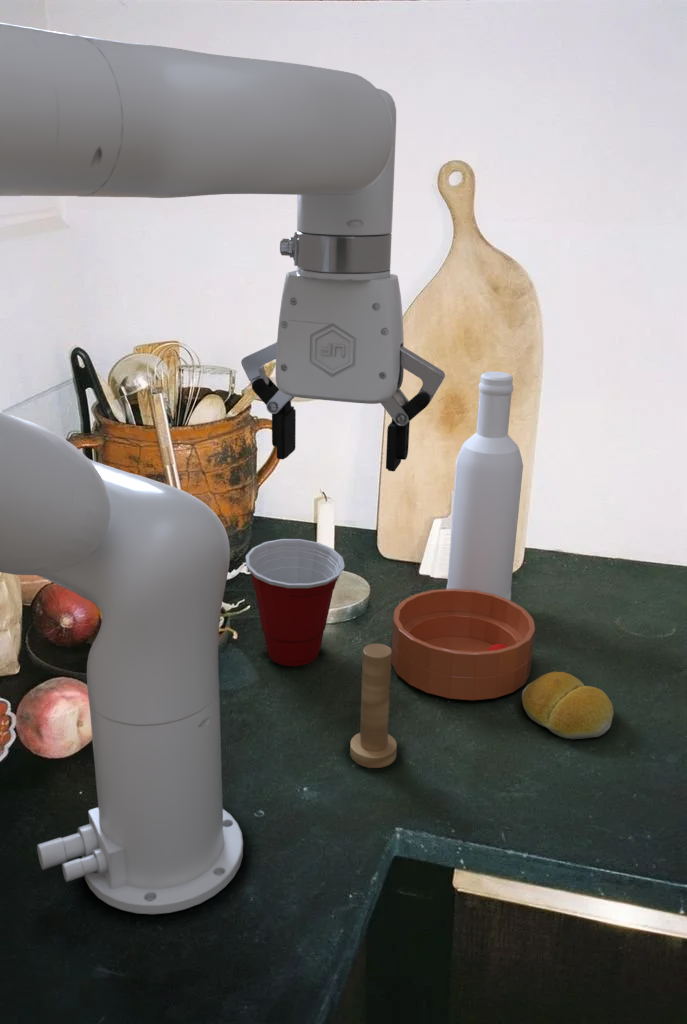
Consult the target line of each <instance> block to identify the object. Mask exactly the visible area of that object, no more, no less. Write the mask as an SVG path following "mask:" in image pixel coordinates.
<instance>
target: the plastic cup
mask: <svg viewBox="0 0 687 1024" xmlns="http://www.w3.org/2000/svg"><path fill="white" fill-rule="evenodd" d="M245 566H246V569H247V570H248V571H249V573H250V576H251V581H252V583H253V590H254V591H255V596H256V602H257V607H258V613H259V619H260V624H261V631H262V633H263V636H264V641H265V647H266V652H267V654H268V658H269V659H270V660H271V661H272V662H274V663H276V664H279V665H281V666H287V667H299V666H300V667H302V666H304V665H308V664H310V663H312V662H313V661H315V660H316V659H317V658H318V656H319V653H320V650H321V647H322V642H323V636H324V631H325V630H326V628H327V627H326V626H327V622H328V617H329V612H330V607H331V602H332V599H333V593H334V590H335V588H336V584H337V582H338V579H339V578H340V576H341V574H342V573H343V571H344V569H345V567H346V565H345V561H344V558H343V556H342V555H341V554H340V553H338V551H336V550H335V549H334V548H332V547H331V546H328V545H325V544H322V543H321V542H317V541H314V540H313V541H312V540H308V539H307V540H306V539H302V538H280V539H274V540H269V541H268V540H267V541H264V542H262V543H260V544H258V545H256V546H254V547H252V548H251V549H250V550H249V551H248V552H247V554H246V555H245Z"/></svg>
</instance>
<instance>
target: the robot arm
mask: <svg viewBox="0 0 687 1024" xmlns="http://www.w3.org/2000/svg"><path fill="white" fill-rule="evenodd" d="M396 136H397V107H396V102H395V100H394V98H393V96H392V95H391V94H390V93H389V92H388V91H385V90H383V89H381V88H377V87H376V86H375V85H374V84H373V83H372V82H371V81H369V80H367V79H366V78H364V77H363V76H361V75H359V74H356V73H352V72H349V71H343V70H338V69H331V68H326V67H320V66H315V65H314V66H312V65H308V64H301V63H293V62H286V61H285V62H284V61H278V60H267V59H258V58H249V57H238V56H230V55H222V54H212V53H206V52H200V51H195V50H188V49H182V48H176V47H168V46H163V45H162V46H161V45H155V44H153V45H152V44H143V43H133V42H126V41H119V40H113V39H105V38H97V37H91V36H86V35H85V36H84V35H78V34H70V33H64V32H58V31H53V30H46V29H39V28H34V27H27V26H22V25H16V24H10V23H5V22H0V197H78V198H79V197H80V198H81V197H85V198H86V197H89V198H90V197H91V198H92V197H94V198H150V199H153V198H154V199H173V198H174V199H175V198H188V197H189V198H191V197H201V196H216V195H218V196H219V195H288V196H289V195H290V196H291V195H296V197H297V198H296V231H294V233H293V234H294V235H293V236H291V237H289V238H281V240H280V242H279V254H280V255H281V256H286V257H289V258H290V259H291V258H292V259H293V264H294V266H295V267H296V270H293V271H289V272H286V274H285V278H284V283H283V288H282V293H281V301H280V309H279V316H278V326H277V327H278V328H277V339H276V342H273V343H271V344H269V345H267V346H265V347H263V348H261V349H259V350H257V351H254V352H251V353H250V354H248V355H246V356H245V357H243V358H242V359H241V362H240V364H241V366H242V369H243V370H244V372H245V375H246V377H247V379H248V381H249V382H250V384H251V389H252V391H253V392H254V393H255V394H256V396H257V397H258V398H259V399H260V400H261V401H262V402H263V403H264V405H265V406H266V411H268V413H270V414H271V445H272V446H273V447H276V459H277V460H285V459H287V458H289V456H290V455H291V454H293V452H294V451H295V450H296V440H297V439H296V434H297V433H296V429H297V428H296V426H297V425H296V421H297V420H296V418H297V417H296V416H297V415H296V414H297V413H296V412H297V411H296V409H295V406H294V405H292V401H293V400H294V399H295V398H300V399H310V400H319V401H320V400H321V401H329V402H331V401H333V402H343V403H354V404H365V405H376V404H380V405H382V407H383V408H384V410H385V411H386V412H387V414H388V415H389V416H390V418H391V422H390V423H389V424H388V426H387V431H386V453H385V455H386V456H385V457H386V458H385V470H387V471H388V472H396V470H397V469H398V467H399V466H400V464H401V462H402V460H403V461H406V460H407V458H408V454H409V444H410V443H409V441H410V424H411V423H410V422H411V421H412V420H413V419H414V418H415V417H416V416H417V415H419V414H420V413H421V412H422V411H424V410H425V409H426V408H427V407H428V406H429V404H430V403H431V402H432V400H433V398H434V397H435V395H436V394H437V392H438V390H440V389H439V388H440V387H441V385H442V384H443V382H444V381H445V379H446V373H445V371H443V369H441V368H439V367H437V366H436V365H435V364H432V363H431V362H430V361H428V360H426V359H425V358H423V357H421V356H420V355H419V354H416V353H415V352H413V351H411V350H410V349H408V348H407V347H405V335H404V334H405V333H404V317H403V304H402V295H401V294H402V293H401V288H400V281H399V277H398V275H397V274H394V273H391V263H392V239H393V237H392V236H393V215H394V189H395V164H396V163H395V161H396V141H397V139H396V138H397V137H396ZM272 361H275V383H274V382H273V380H271V377H269V376H268V375H267V372H266V370H265V369H266V368H265V365H266V364H268V363H271V362H272ZM405 371H408V372H409V373H410V374H412V375H413V376H416V377H417V378H419V379H420V380H421V382H422V385H421V387H420V389H419V391H418V392H417V394H415V395H414V396H413V397H412V398H410V400H409V399H408V398H407V396H406V395H405V394H404V392H403V391H402V390H401V387H402V385H403V381H404V375H405V374H404V373H405ZM227 533H228V532H227V530H226V527H225V525H224V524H223V522H222V520H221V519H220V518H219V516H218V515H217V514H216V513H215V511H214V510H213V509H212V508H211V507H210V506H209V505H207V504H206V503H205V502H204V501H202V499H199V498H197V497H196V496H194V495H193V494H190V493H189V492H187V491H185V490H183V489H180V488H178V487H175V486H173V485H170V484H167V483H164V482H161V481H157V480H155V479H152V478H148V477H145V476H143V475H140V474H135V473H132V472H128V471H126V470H122V469H119V468H117V467H113V466H110V465H107V464H104V463H101V462H98V461H95V460H92V459H90V458H89V457H87V456H86V455H85V454H84V453H83V452H82V451H81V450H80V449H79V448H77V446H76V445H74V444H73V443H71V442H69V440H67V439H66V438H64V437H63V436H61V435H60V434H58V433H57V432H54V431H52V430H50V429H48V428H46V427H44V426H42V425H40V424H38V423H35V422H32V421H31V420H27V419H24V418H22V417H18V416H15V415H12V414H10V413H6V412H4V411H1V410H0V573H3V574H9V575H14V576H37V577H39V578H41V579H44V580H47V581H49V582H50V583H51V582H52V583H53V584H55V585H58V586H60V587H62V588H64V589H67V590H68V591H70V592H72V593H75V594H77V595H78V596H80V597H81V598H83V599H85V600H87V601H89V602H91V603H93V604H95V606H97V608H98V610H99V612H100V615H101V624H100V628H99V630H98V633H97V635H96V636H95V638H94V640H93V643H92V645H91V647H90V649H89V652H88V656H87V661H86V686H87V688H86V689H87V698H88V706H89V715H90V718H89V719H90V726H91V738H92V739H91V740H92V741H91V742H92V751H93V762H94V763H93V764H94V774H95V785H96V797H97V807H94V808H90V809H89V810H88V811H87V812H88V813H87V814H88V821H89V823H87V824H85V825H82V826H79V827H77V832H76V833H72V834H69V835H67V836H64V837H62V836H61V837H57V838H54V839H49V840H47V841H45V842H44V841H43V842H41V843H38V844H36V850H37V851H36V852H37V856H38V861H39V864H40V867H41V870H42V871H45V870H48V869H51V868H54V867H56V866H60V865H61V868H62V869H61V870H62V874H63V878H64V881H65V883H68V882H71V881H74V880H78V879H81V878H84V880H85V882H86V884H87V886H88V888H89V890H90V891H91V892H92V893H93V895H95V896H96V897H97V899H99V900H101V901H103V902H104V903H105V904H107V905H108V906H111V907H113V908H116V909H118V910H121V911H124V912H128V913H133V914H140V915H141V914H142V915H160V914H161V915H162V914H170V913H176V912H179V911H183V910H186V909H189V908H192V907H195V906H197V905H200V904H202V903H204V902H205V901H207V900H209V899H211V898H213V897H214V896H216V895H217V894H219V893H220V892H221V891H222V890H224V889H225V888H226V887H227V885H229V883H230V882H231V881H232V880H233V879H234V878H235V876H236V874H237V873H238V871H239V869H240V867H241V864H242V862H243V861H242V860H243V857H244V839H243V832H242V830H241V828H240V826H239V823H238V822H237V820H236V819H235V818H234V817H233V815H231V813H230V812H228V811H227V810H225V808H224V805H223V804H224V803H223V775H222V774H223V773H222V769H223V768H222V739H221V738H222V735H221V706H220V704H221V703H220V701H221V700H220V680H219V679H220V678H219V677H220V676H219V675H220V674H219V672H220V671H219V670H220V669H219V640H220V639H219V637H220V622H221V613H222V606H223V600H224V596H225V590H226V584H227V580H228V575H229V568H230V559H231V546H230V541H229V535H228V534H227ZM79 857H81V858H79Z"/></svg>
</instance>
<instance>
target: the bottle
mask: <svg viewBox="0 0 687 1024" xmlns="http://www.w3.org/2000/svg"><path fill="white" fill-rule="evenodd" d="M513 382H514V377H513V375H511V374H510V373H508V372H503V371H486V372H483V373H482V374H481V375H480V380H479V384H478V390H479V391H478V392H479V393H478V396H479V397H478V407H477V417H476V418H477V420H476V431H475V433H473V434H472V435H470V437H468V438H467V439H466V440H465V441H464V442H463V443H462V445H461V447H460V449H459V451H458V454H457V457H456V461H455V471H454V472H455V473H454V487H453V502H452V513H451V514H452V515H451V516H452V517H451V528H450V544H449V558H448V569H447V583H446V587H445V589H467V590H477V591H481V592H486V593H491V594H495V595H497V596H500V597H503V598H505V599H508V600H511V601H512V583H513V574H514V573H513V571H514V562H515V552H516V544H517V543H516V542H517V534H518V533H517V531H518V524H519V523H518V522H519V511H520V501H521V493H522V482H523V481H522V480H523V471H524V462H523V458H522V455H521V451H520V447H519V445H518V444H517V443H516V441H514V440H513V438H512V437H511V436H510V435H509V425H510V415H511V406H512V405H511V404H512V395H513V392H514V385H513Z"/></svg>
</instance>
